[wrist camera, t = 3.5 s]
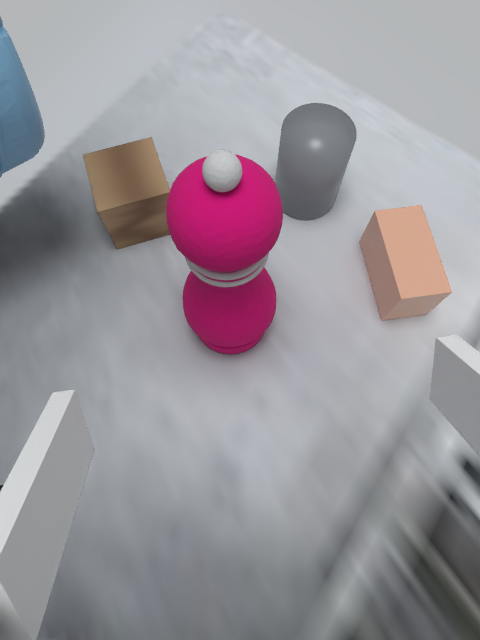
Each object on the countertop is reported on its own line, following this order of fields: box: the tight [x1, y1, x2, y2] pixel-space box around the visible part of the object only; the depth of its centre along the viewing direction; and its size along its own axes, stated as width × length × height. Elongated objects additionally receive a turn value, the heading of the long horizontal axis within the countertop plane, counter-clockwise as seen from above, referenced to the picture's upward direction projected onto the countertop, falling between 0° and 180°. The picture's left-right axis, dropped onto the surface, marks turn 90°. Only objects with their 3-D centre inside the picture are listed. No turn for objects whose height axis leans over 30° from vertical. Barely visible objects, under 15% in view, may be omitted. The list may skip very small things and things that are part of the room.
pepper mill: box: [166, 150, 283, 354], centre depth 27 cm, size 7×7×20 cm
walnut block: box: [83, 137, 170, 249], centre depth 38 cm, size 6×6×6 cm
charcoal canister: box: [275, 103, 356, 220], centre depth 37 cm, size 6×6×8 cm
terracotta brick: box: [359, 205, 452, 321], centre depth 36 cm, size 4×8×5 cm, turn 8°
